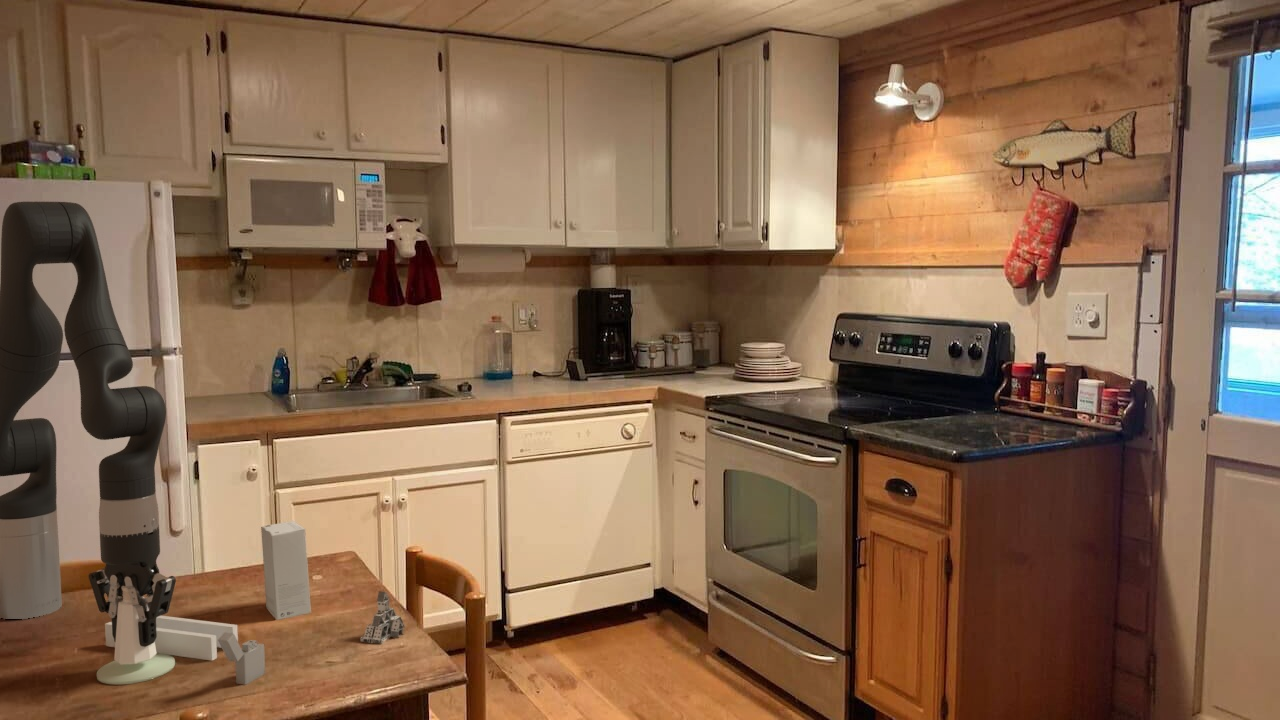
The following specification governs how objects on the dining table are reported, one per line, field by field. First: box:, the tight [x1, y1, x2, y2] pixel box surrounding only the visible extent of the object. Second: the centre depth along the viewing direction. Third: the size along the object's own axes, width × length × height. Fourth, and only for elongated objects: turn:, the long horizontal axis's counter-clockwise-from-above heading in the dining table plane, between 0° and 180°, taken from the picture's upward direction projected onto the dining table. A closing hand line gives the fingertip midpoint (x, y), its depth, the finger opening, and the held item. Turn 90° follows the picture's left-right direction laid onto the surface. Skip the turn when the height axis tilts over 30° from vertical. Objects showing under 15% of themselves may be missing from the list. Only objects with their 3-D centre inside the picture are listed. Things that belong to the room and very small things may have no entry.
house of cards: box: [360, 590, 405, 645], centre depth 148 cm, size 9×9×8 cm
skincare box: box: [260, 520, 312, 621], centre depth 160 cm, size 8×6×15 cm
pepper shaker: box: [113, 586, 157, 664], centre depth 136 cm, size 5×5×11 cm
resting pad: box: [96, 653, 176, 686], centre depth 136 cm, size 10×10×1 cm
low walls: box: [104, 615, 239, 661], centre depth 145 cm, size 20×6×4 cm, turn 73°
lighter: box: [218, 632, 266, 685], centre depth 132 cm, size 7×2×8 cm, turn 161°
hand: (134, 642), depth 136 cm, fingers closed on pepper shaker, 4 cm apart
